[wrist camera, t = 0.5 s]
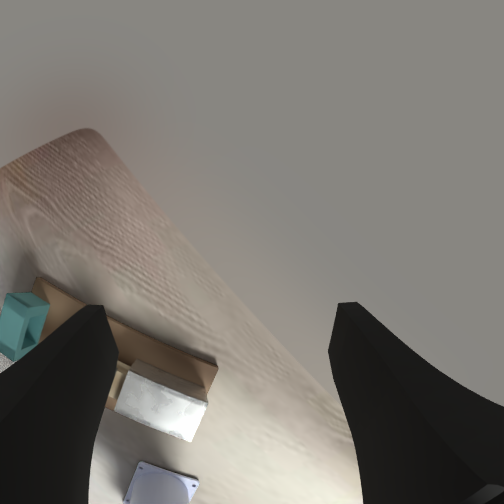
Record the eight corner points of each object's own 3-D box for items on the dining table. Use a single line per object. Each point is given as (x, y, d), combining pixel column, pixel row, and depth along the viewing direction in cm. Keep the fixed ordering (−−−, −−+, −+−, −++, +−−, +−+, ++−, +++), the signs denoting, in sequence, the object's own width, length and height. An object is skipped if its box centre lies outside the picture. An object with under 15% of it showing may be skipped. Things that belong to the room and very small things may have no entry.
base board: (185, 436, 31) (186, 440, 29) (18, 350, 27) (14, 352, 26) (217, 365, 32) (218, 368, 31) (40, 277, 29) (36, 277, 28)
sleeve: (189, 422, 30) (190, 441, 25) (122, 394, 29) (113, 410, 24) (205, 387, 31) (208, 403, 26) (136, 358, 29) (128, 370, 25)
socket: (35, 351, 27) (13, 361, 22) (17, 338, 26) (-7, 346, 21) (50, 304, 28) (27, 307, 23) (31, 292, 28) (6, 293, 22)
